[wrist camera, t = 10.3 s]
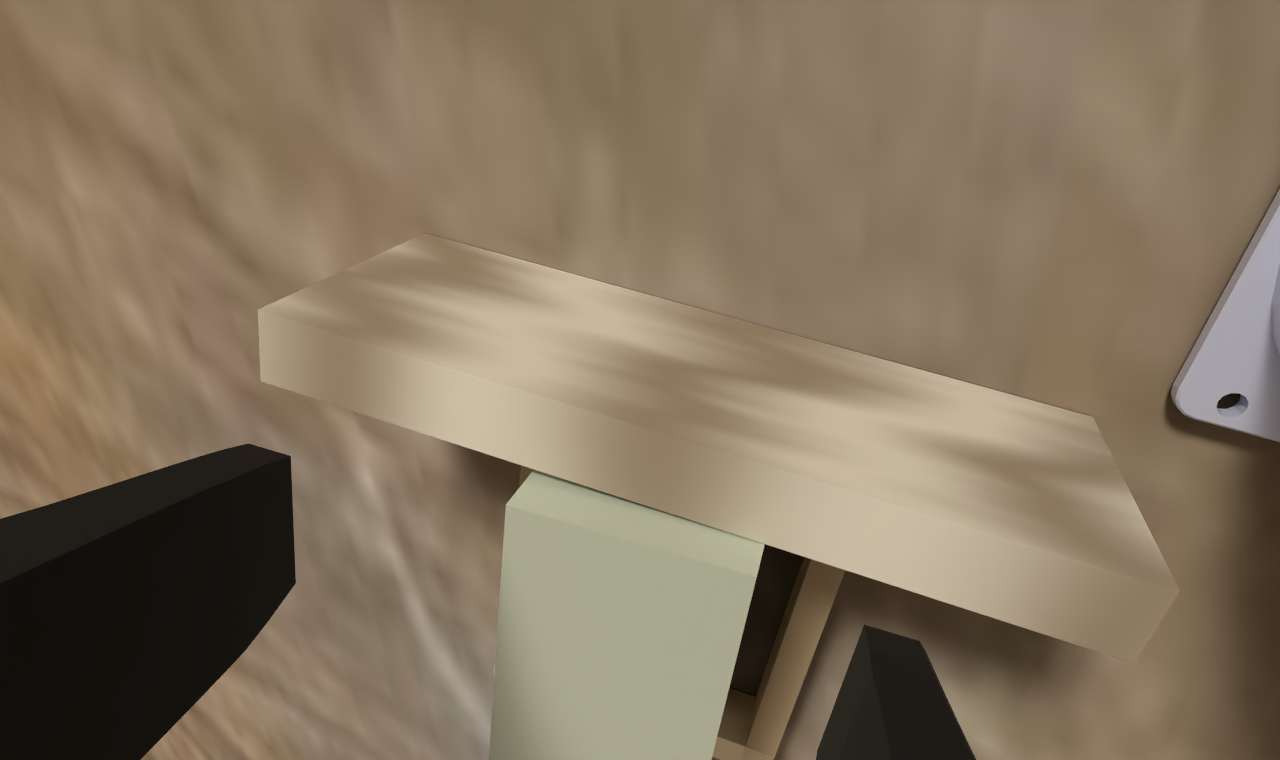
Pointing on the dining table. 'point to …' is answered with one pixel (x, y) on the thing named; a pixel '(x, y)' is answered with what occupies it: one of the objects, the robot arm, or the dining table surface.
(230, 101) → the dining table surface
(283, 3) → the dining table surface
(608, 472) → the wall board
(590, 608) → the cabinet block
